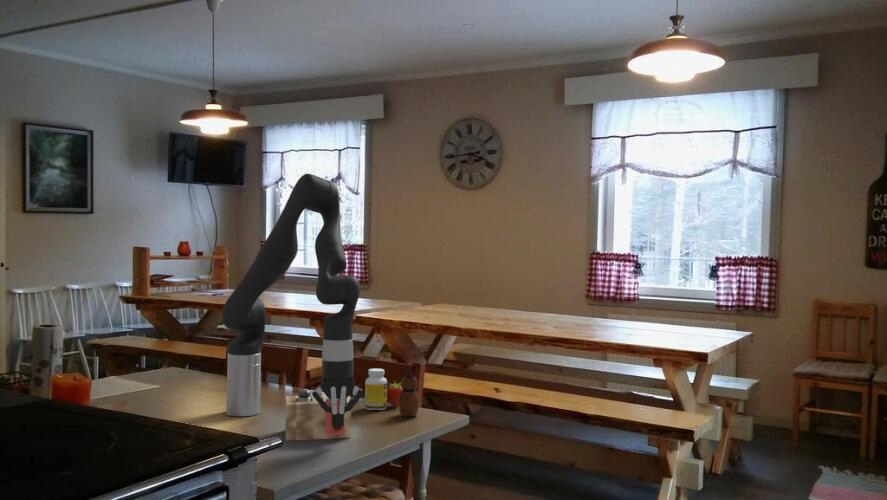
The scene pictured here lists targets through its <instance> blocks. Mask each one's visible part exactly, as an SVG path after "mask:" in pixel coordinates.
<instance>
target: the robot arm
mask: <svg viewBox="0 0 887 500" xmlns="http://www.w3.org/2000/svg"><path fill="white" fill-rule="evenodd" d="M340 198H341V197H340V191H339V188H338V186H337V185H336V183H334V182H333V181H331V180H329V179H325V178H323V177H320V176H317V175H315V174H312V173H304V174H303V175H301V176H300V177H299V178H298V179H297V181H296V183H295V184H294V187H293V188H292V190H291V192H290V194H289V197H288V198H287V200H286V202H285V205H284V207H283V209H282V212H281V214H280V215H279V217H278V219H277V220H276V223H275V224H274V226H273V228H272V230H271V231H270V233H269V234H268V236H267V237H266V239H265V241H264V243H263V244H262V246H261V248H260V249H259V251H258V253H257V254H256V256H255V258H254V259H253V262H252V264H251V265H250V267H249V268H248V270H247V271H246V273H245V275H244V276H243V278H242V279H241V281H240V282H239V284H238V285H237V287H236V288H235V289H234V290H233V291H232V293H231V294H230V296H229V297H228V298H227V300H226V301H225V303H223V304H224V305H223V307H222V310H221V322H222V324H223V325H224V327H225V328H227V329H229V330H232V331H239V332H238V334H237V336H235V338H234V339H232V340H231V341H230V342H229V343H228V345H227V370H226V371H227V375H226V377H227V378H226V379H227V380H226V404H225V405H226V411H225V413H226V414H225V416H232V417H249V416H250V417H251V416H256V415H259V414H260V413H261V382H262V381H261V378H262V376H261V375H262V373H261V371H262V369H261V368H262V366H261V365H262V346H263V344H264V341H265V332H266V308H265V304H264V302H263V301H262V300H261V298H260V296H261V295H262V294H263V293H264V292H265V291H266V290H268V289H269V288H271V286H273V285H274V284H275V283H277V281H279V280H280V279H281V278H282V277H283V276H284V275H286V273H287V272H288V270H289V268H290V267H291V265H292V264H293V262H294V260H295V259H296V257H297V254H298V252H299V251H298V250H299V242H298V231H297V229H298V228H297V225H298V222H299V220H300V217H301V215H302V213H303V212H304V210H307V211H311V212H314V213H316V214H320V215H321V218H322V220H323V225H322V227H321V229H320V231H319V232H318V234H317V236H316V238H315V242H314V250H315V256H316V262H317V267H318V268H317V269H318V273H317V282H316V288H315V296H316V298H317V300H318V301H319V302H320V303H321V304H322V305H326V306H328V305H329V306H331V305H332V306H333V305H336V306H337V305H342V307H341V309H340V310H339V311H338V312H335V313H332V314H328V315H326V316H324V318H323V325H322V326H323V329H322V331H323V332H322V333H323V334H322V337H323V338H322V339H323V340H322V349H321V354H322V355H321V381H320V383H319V386H318V388H316V389H314V390H312V391H311V395H313V397H314V398H315V399H316V401H317V402H318V403H319V404H320V406H321V407H322V408H323V409H324V410H325V412H329V413H331V414H332V426H333V427H334V428H335V430H337V429H341V427H343V426H344V413H345V412H347V411H351V412H352V409H353V408H354V407H355V405H356V404H357V403H358V402H359V400H360V399H361V397H362V396H363V395H364V394H365V392H364V390H363V389H362V388H359V387H358V386H357V385H356V382H355V380H354V357H355V353H354V344H353V324H354V323H353V322H354V315H355V312H356V308H357V304H358V300H359V297H360V294H361V285H360V282H359V280H358V278H356V277H355V276H354V275H340V274H342V273H343V272H345V270H346V269H347V266H348V265H347V258H346V254H345V253H346V252H345V249H344V245H343V241H342V233H341V232H342V231H341V201H340ZM323 393H324V395H326V396H327V397H328V398H329V399H330V402H331V407H330V406H328V405H327V404H326V403H325V401H324V400H323V399H322V398H321V397H322V395H323ZM351 393H352V396H351V398H349V399H350V401H349V402H348V403H347V405H345V399H346V398H347V397H349V396H350V395H351ZM337 399H339V405H338V413H337V401H336V400H337Z"/></svg>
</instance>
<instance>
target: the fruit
mask: <svg viewBox="0 0 887 500" xmlns="http://www.w3.org/2000/svg"><path fill="white" fill-rule="evenodd" d="M388 384H389V386H387V401H388V403H389V404H390V405H391V406H393V407H395V408H397V407H399V395H400V392H401V391H402V390H403V388H402V387H401V382H399V383H397V382H396V381H394V383H389V382H388Z"/></svg>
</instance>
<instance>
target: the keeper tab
mask: <svg viewBox="0 0 887 500" xmlns="http://www.w3.org/2000/svg"><path fill="white" fill-rule="evenodd" d="M336 401H337V413H338V405H339V399H337V400H336ZM325 403H326V404H327V405H328V406H330V407H331V402H330V399H326V402H325ZM325 415H326V434H327V435H338V434H345V426H343V427H341V429H337V430H335V428H334V427H333V426H332V414H331V413H329V412H325Z"/></svg>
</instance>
